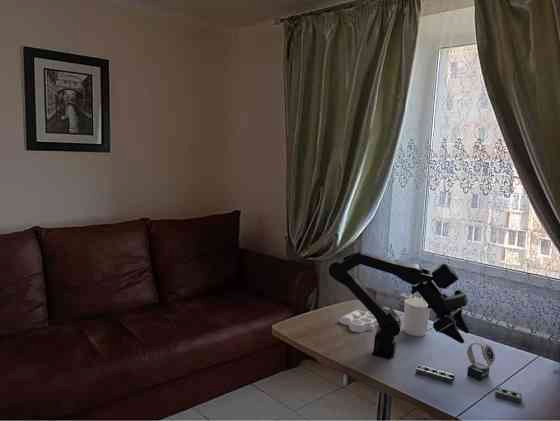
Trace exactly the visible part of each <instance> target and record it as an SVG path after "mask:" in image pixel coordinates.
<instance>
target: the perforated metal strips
mask: <svg viewBox="0 0 560 421" xmlns="http://www.w3.org/2000/svg"><path fill="white" fill-rule="evenodd" d="M415 375H418V376H422V377H425V378H429V379H431V380H435V381H439V382H442V383H446V384H447V385H448V384H449V385H453V381H454V380H455V374H453V373H450V372H447V371H443V370H440V369H435V368H432V367H428V366H424V365H421V364H418V365H417V367H416V368H415ZM494 397H495V398H496V399H500V400H503V401H507V402H511V403H514V404H516V405H521V404H522V401H523V393H521V392H517V391H513V390H510V389H507V388H504V387H499V386H496V390H495V395H494Z"/></svg>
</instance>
